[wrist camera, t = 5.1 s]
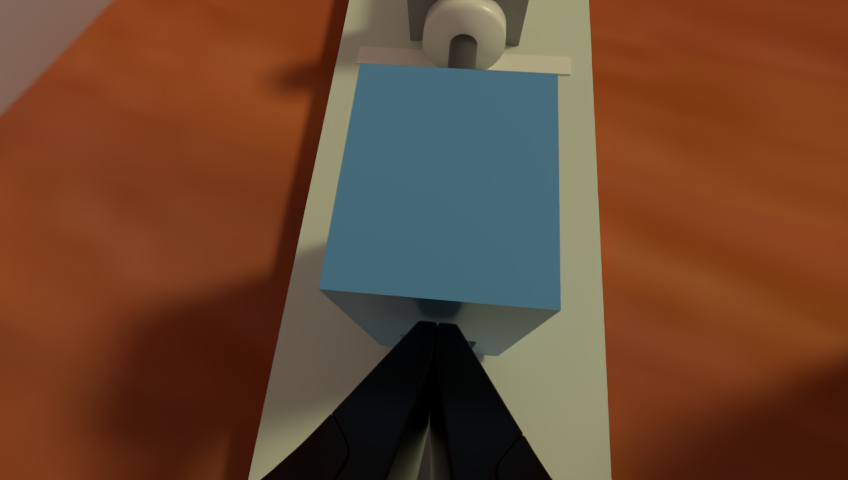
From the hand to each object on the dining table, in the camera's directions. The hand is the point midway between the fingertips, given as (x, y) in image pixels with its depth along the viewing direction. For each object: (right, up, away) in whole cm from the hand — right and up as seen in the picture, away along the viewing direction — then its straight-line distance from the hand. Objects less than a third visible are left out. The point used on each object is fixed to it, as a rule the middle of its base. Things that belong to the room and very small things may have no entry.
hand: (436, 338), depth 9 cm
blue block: (0, +1, +7) cm, 7 cm away
